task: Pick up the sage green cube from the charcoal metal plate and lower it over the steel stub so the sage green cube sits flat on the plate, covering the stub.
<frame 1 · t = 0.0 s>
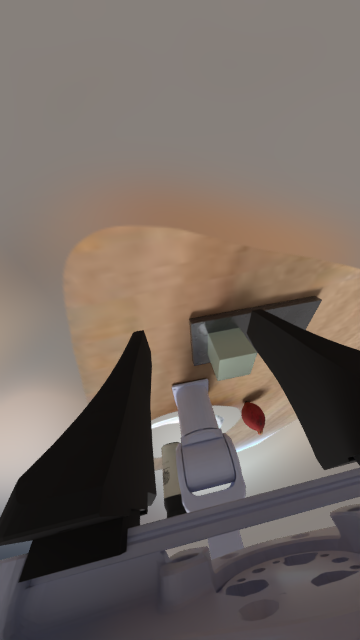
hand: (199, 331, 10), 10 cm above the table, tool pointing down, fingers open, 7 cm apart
onion: (246, 401, 46), on the table
travel mug: (171, 444, 60), on the table
sage green cube: (222, 341, 25), point 1 cm above the table, touching base plate
base plate: (248, 331, 26), on the table
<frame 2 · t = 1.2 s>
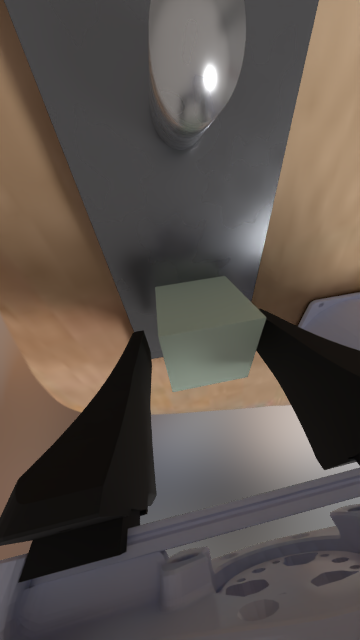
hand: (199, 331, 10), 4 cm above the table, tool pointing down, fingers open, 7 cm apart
sage green cube: (192, 310, 12), point 1 cm above the table, touching base plate
base plate: (184, 238, 10), on the table
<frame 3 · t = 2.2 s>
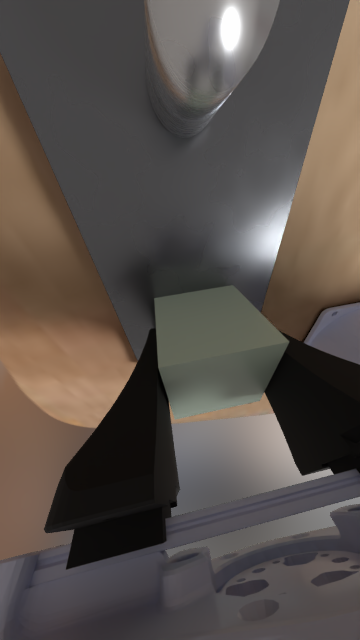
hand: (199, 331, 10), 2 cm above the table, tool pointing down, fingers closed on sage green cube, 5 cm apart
sage green cube: (195, 322, 11), point 1 cm above the table, touching base plate, gripper
base plate: (187, 243, 9), on the table
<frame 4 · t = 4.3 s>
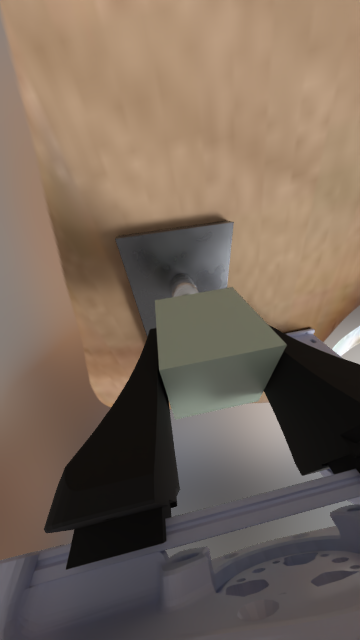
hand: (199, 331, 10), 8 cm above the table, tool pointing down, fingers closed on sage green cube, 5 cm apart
sage green cube: (195, 323, 11), point 7 cm above the table, touching gripper
base plate: (183, 316, 20), on the table
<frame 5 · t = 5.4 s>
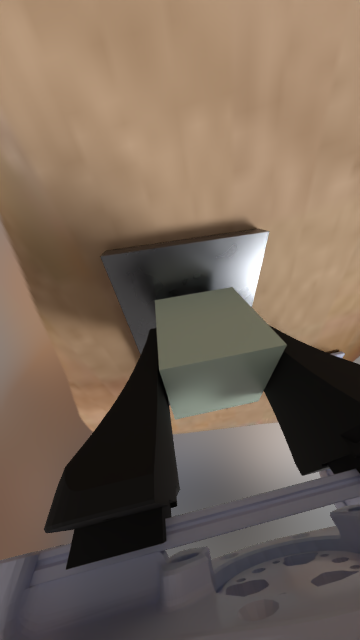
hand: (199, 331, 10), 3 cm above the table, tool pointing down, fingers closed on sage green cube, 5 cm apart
sage green cube: (195, 323, 11), point 2 cm above the table, touching gripper
base plate: (191, 344, 16), on the table
when the fingers open (3 cm above the table, at t = 6.4 s): sage green cube stays where it is, resting on base plate.
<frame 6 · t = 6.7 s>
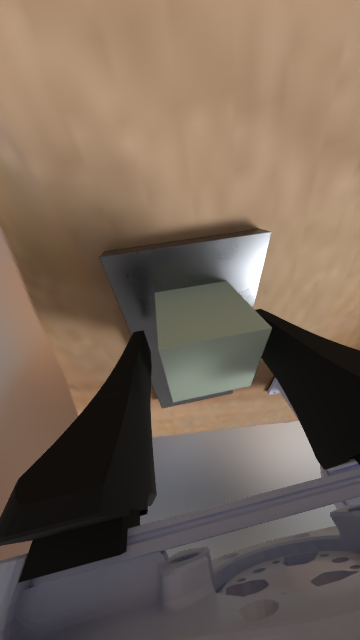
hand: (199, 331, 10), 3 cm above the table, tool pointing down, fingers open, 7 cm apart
sage green cube: (192, 315, 12), point 1 cm above the table, touching base plate
base plate: (192, 346, 16), on the table
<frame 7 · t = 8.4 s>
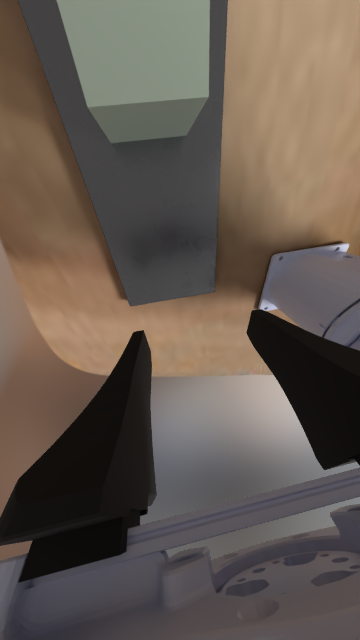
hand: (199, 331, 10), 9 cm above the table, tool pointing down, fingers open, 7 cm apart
sage green cube: (139, 72, 9), point 1 cm above the table, touching base plate
base plate: (155, 186, 13), on the table
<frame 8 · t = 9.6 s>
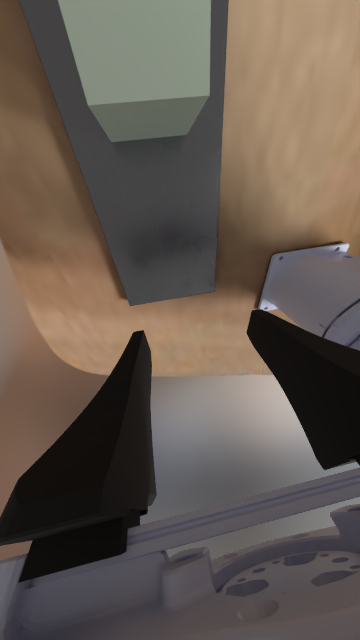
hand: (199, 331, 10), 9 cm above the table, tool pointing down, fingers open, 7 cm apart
sage green cube: (139, 71, 9), point 1 cm above the table, touching base plate
base plate: (155, 186, 13), on the table
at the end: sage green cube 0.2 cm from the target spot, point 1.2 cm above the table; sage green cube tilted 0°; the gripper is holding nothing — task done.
